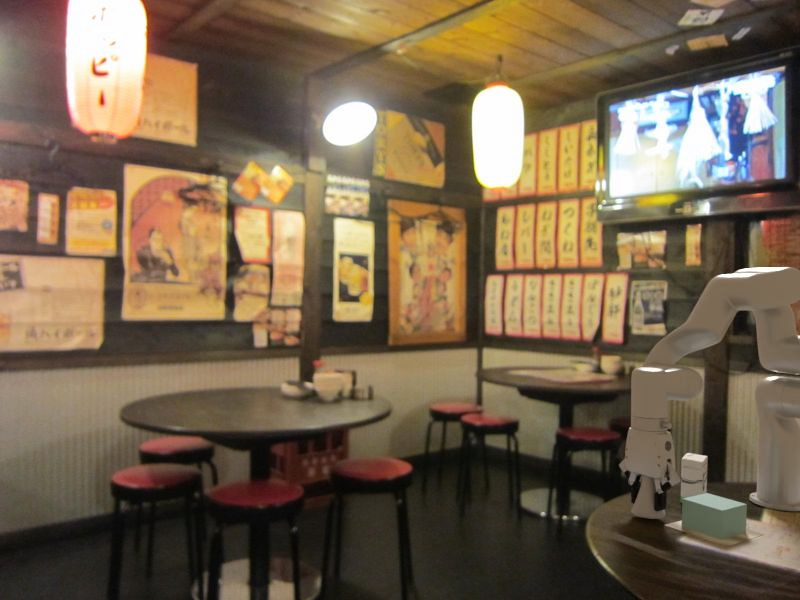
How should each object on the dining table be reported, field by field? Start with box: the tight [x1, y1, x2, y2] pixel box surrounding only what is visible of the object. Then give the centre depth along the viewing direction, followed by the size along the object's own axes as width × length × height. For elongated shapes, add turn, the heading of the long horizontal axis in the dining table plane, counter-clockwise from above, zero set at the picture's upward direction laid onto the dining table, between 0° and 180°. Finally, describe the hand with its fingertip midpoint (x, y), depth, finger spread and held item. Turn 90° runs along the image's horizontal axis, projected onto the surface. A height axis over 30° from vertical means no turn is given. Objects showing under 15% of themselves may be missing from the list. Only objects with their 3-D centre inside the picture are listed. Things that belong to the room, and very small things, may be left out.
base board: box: [664, 519, 765, 548], centre depth 140 cm, size 14×14×1 cm
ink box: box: [680, 452, 709, 503], centre depth 161 cm, size 9×5×12 cm, turn 148°
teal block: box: [681, 492, 748, 540], centre depth 140 cm, size 9×9×6 cm
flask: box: [630, 475, 666, 520], centre depth 145 cm, size 7×7×10 cm
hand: (648, 505), depth 145 cm, fingers closed on flask, 5 cm apart
